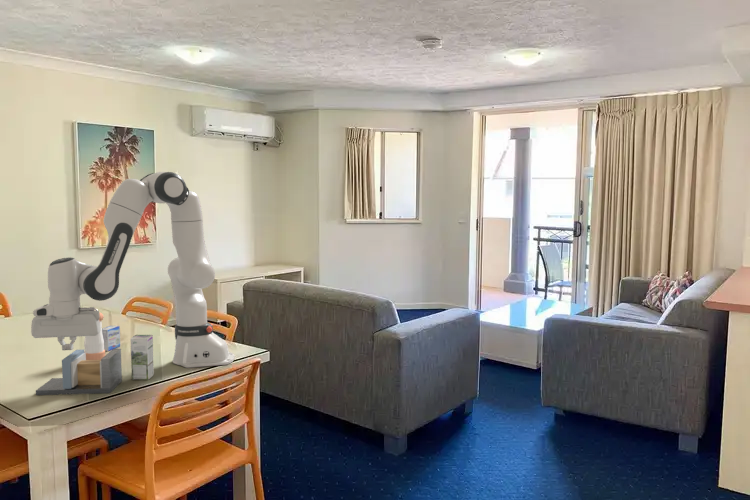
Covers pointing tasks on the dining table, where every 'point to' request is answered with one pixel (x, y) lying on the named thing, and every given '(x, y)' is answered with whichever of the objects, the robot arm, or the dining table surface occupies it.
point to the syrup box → (142, 357)
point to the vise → (108, 381)
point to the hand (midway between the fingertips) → (67, 349)
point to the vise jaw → (71, 368)
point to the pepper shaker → (95, 344)
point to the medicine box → (111, 337)
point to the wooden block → (89, 372)
